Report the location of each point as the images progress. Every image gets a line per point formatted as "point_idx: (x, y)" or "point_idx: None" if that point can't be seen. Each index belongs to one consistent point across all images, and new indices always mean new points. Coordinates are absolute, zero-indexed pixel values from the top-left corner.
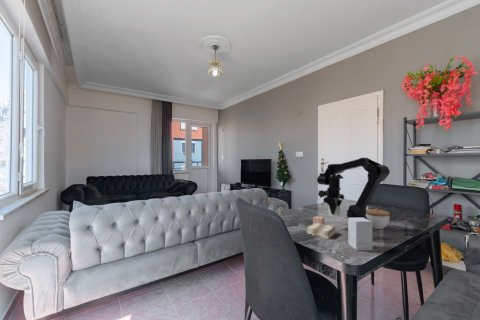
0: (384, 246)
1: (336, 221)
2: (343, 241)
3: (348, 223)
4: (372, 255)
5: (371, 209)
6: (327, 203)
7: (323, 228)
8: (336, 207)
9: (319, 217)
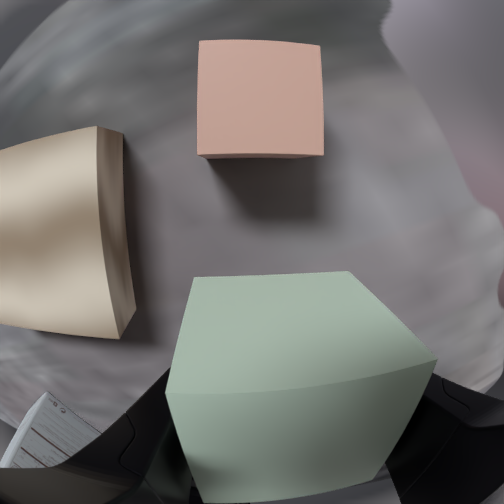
0: None
1: (462, 213)
2: (54, 372)
3: (6, 462)
4: None
5: None
6: (7, 472)
7: (9, 277)
8: (222, 494)
9: (276, 98)
